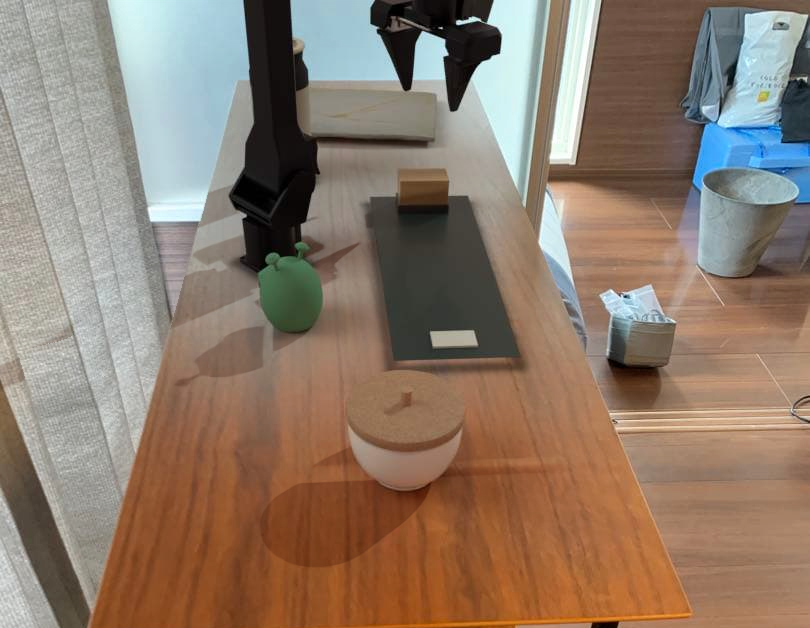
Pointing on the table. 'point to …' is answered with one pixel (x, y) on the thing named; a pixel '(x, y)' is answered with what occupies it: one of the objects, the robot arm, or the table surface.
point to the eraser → (422, 191)
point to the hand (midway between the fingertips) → (429, 100)
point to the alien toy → (290, 291)
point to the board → (439, 282)
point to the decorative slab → (372, 114)
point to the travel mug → (299, 87)
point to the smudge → (453, 339)
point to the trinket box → (405, 427)
